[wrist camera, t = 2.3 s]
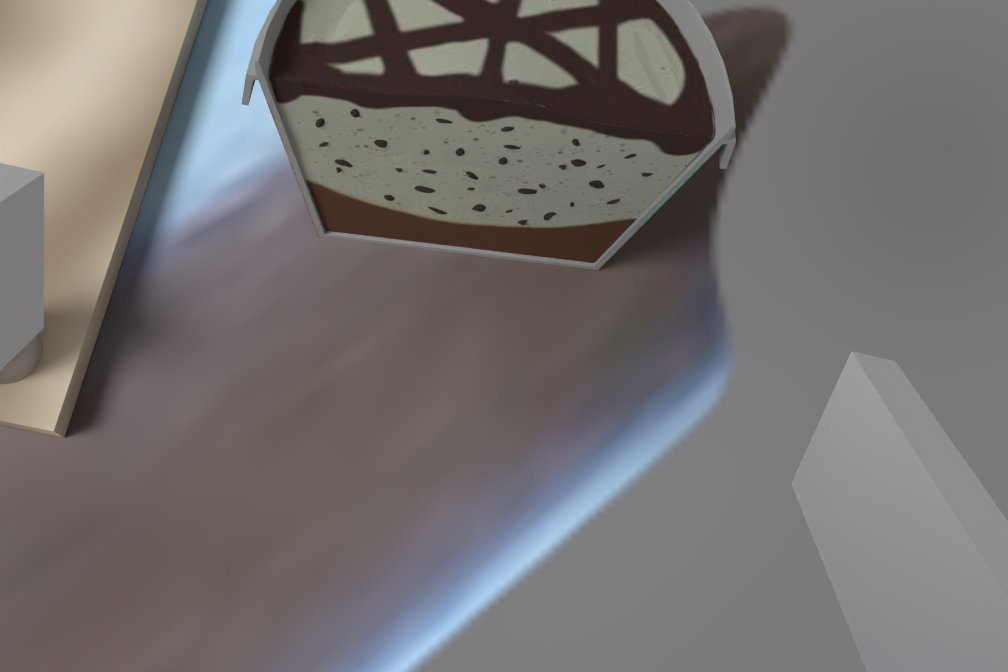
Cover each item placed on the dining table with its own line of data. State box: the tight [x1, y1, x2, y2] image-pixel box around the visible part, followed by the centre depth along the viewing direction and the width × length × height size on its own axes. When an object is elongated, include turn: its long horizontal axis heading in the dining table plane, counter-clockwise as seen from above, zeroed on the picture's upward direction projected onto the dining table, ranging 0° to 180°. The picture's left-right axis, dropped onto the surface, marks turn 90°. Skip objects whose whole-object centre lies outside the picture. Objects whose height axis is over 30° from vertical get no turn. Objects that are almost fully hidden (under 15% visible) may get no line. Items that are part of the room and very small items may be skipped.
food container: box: [242, 0, 736, 270], centre depth 28 cm, size 12×6×10 cm, turn 86°
